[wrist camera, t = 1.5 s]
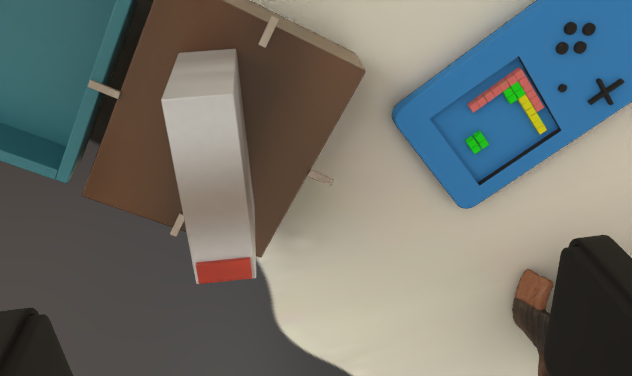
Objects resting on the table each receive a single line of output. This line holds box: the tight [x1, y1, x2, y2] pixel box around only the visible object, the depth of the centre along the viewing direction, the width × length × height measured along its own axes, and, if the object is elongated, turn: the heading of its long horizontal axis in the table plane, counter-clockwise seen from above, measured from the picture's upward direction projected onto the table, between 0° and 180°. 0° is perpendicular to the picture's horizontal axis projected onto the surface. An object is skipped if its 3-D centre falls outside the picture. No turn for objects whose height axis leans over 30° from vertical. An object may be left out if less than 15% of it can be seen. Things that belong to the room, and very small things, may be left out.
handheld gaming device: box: [392, 0, 632, 208], centre depth 30 cm, size 8×1×15 cm
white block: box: [161, 49, 256, 284], centre depth 25 cm, size 8×3×6 cm, turn 3°
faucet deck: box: [82, 0, 366, 257], centre depth 28 cm, size 13×13×3 cm
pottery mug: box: [512, 269, 553, 376], centre depth 38 cm, size 12×10×8 cm
